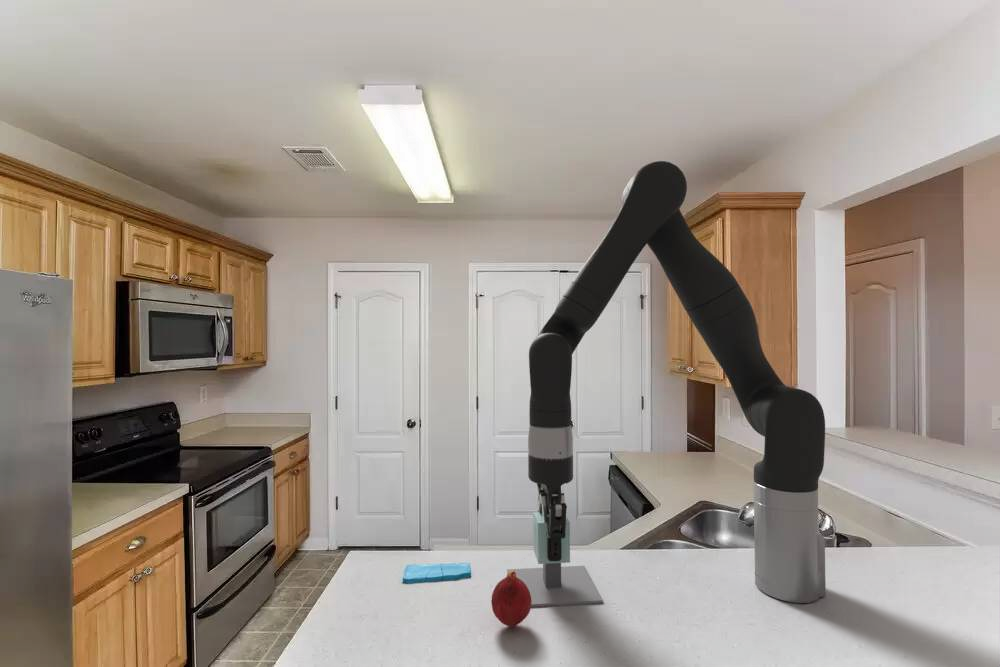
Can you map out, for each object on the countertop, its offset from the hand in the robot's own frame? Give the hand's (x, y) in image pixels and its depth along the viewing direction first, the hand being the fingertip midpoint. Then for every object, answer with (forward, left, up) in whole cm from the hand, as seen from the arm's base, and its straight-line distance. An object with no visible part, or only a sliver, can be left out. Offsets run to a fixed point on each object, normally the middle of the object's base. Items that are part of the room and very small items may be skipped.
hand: (551, 552), depth 85 cm
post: (0, 0, -6) cm, 6 cm away
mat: (0, 0, -6) cm, 6 cm away
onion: (+8, +11, -6) cm, 15 cm away
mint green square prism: (0, 0, -1) cm, 1 cm away
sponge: (+19, -6, -6) cm, 21 cm away
